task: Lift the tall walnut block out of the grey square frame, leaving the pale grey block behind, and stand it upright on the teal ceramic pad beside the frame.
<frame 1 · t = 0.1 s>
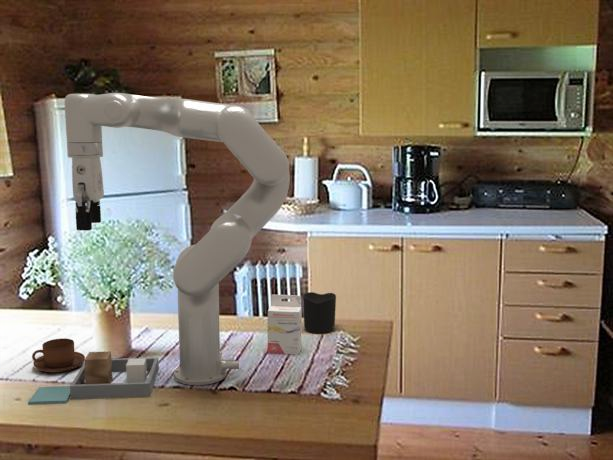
hand: (89, 226, 156), 37 cm above the table, tool pointing down, fingers open, 9 cm apart
pad: (52, 396, 153), on the table
cup and saucer: (59, 367, 171), on the table
grey square frame: (117, 383, 160), on the table
walnut block: (99, 384, 160), resting in grey square frame
pen holder: (319, 329, 199), on the table
ink cartridge box: (284, 351, 182), on the table
pale grey block: (137, 382, 161), resting in grey square frame
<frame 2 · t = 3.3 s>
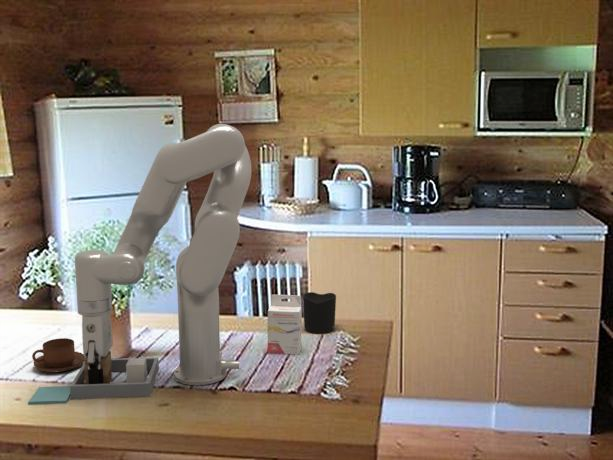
hand: (98, 380, 160), 1 cm above the table, tool pointing down, fingers closed on walnut block, 5 cm apart
walnut block: (99, 384, 160), resting in grey square frame, touching gripper
everything else where it was.
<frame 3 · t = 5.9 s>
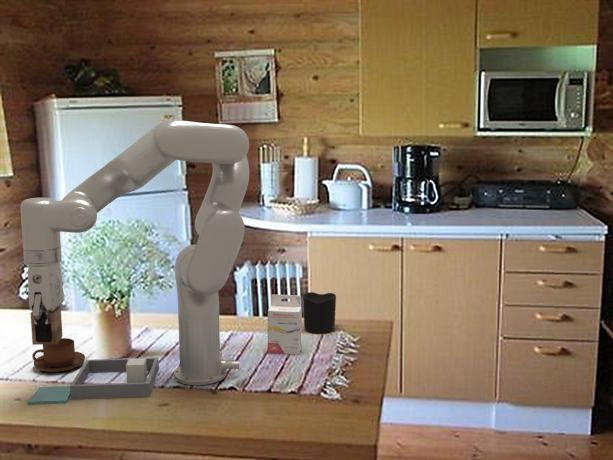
hand: (47, 336, 151), 14 cm above the table, tool pointing down, fingers closed on walnut block, 5 cm apart
walnut block: (47, 340, 151), point 13 cm above the table, touching gripper
everything else where it was.
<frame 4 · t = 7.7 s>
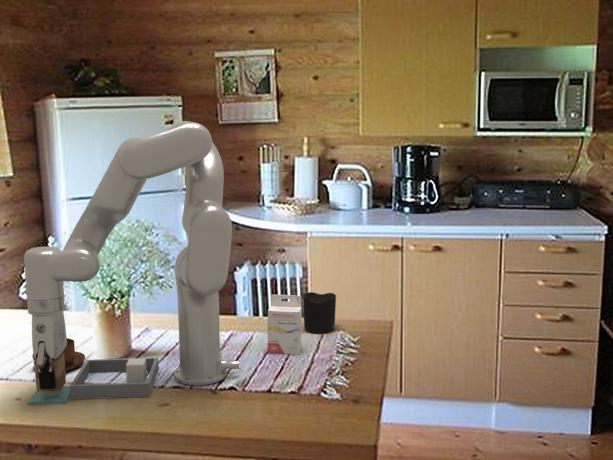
hand: (51, 382, 153), 3 cm above the table, tool pointing down, fingers closed on walnut block, 5 cm apart
walnut block: (51, 386, 153), point 2 cm above the table, touching gripper
everything else where it was.
when the fingers open (3 cm above the table, at t = 8.5 s): walnut block drops 1 cm, resting on pad.
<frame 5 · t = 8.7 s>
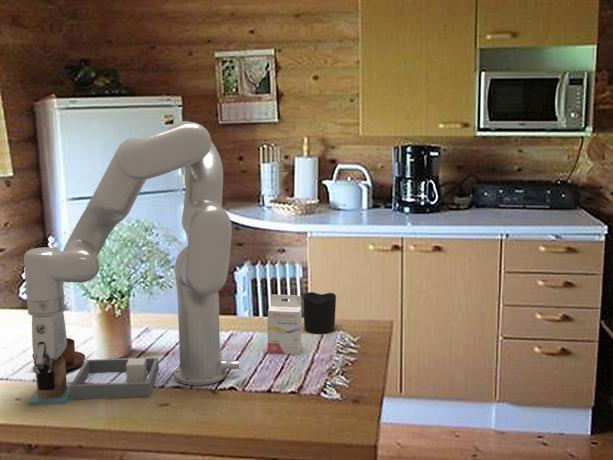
hand: (51, 382, 153), 3 cm above the table, tool pointing down, fingers open, 6 cm apart
walnut block: (52, 393, 153), point 1 cm above the table, touching pad
everything else where it was.
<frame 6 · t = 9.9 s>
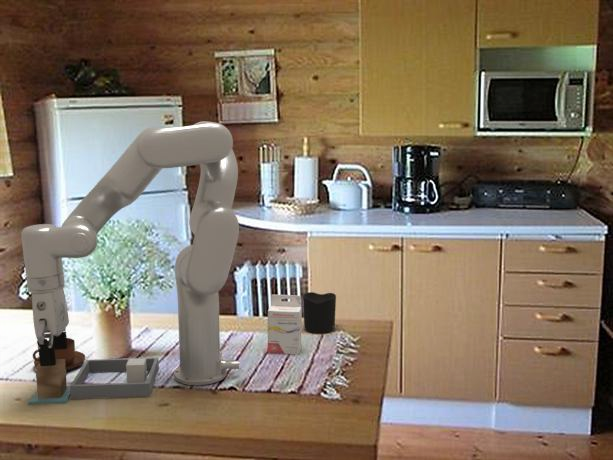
hand: (54, 356, 152), 9 cm above the table, tool pointing down, fingers open, 9 cm apart
nothing on the table moved.
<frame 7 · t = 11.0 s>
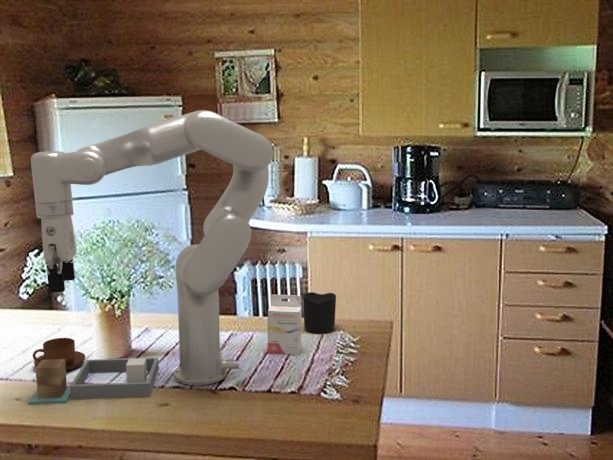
hand: (62, 285, 152), 24 cm above the table, tool pointing down, fingers open, 9 cm apart
nothing on the table moved.
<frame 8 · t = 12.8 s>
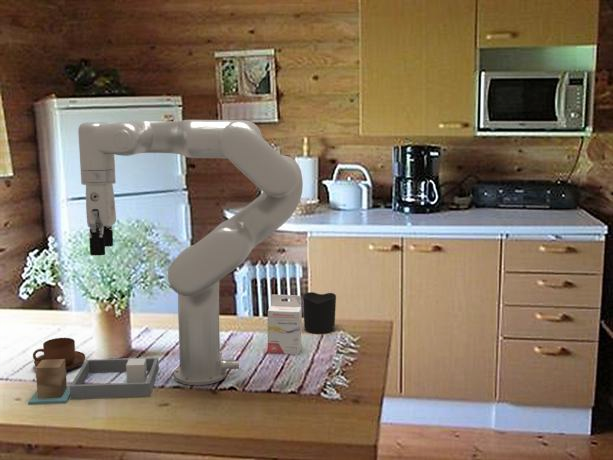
hand: (102, 250, 161), 30 cm above the table, tool pointing down, fingers open, 9 cm apart
nothing on the table moved.
at the end: walnut block inside the target area on the pad (0.1 cm from its centre), point 0.6 cm above the pad's base; walnut block tilted 0°; the gripper is holding nothing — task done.
